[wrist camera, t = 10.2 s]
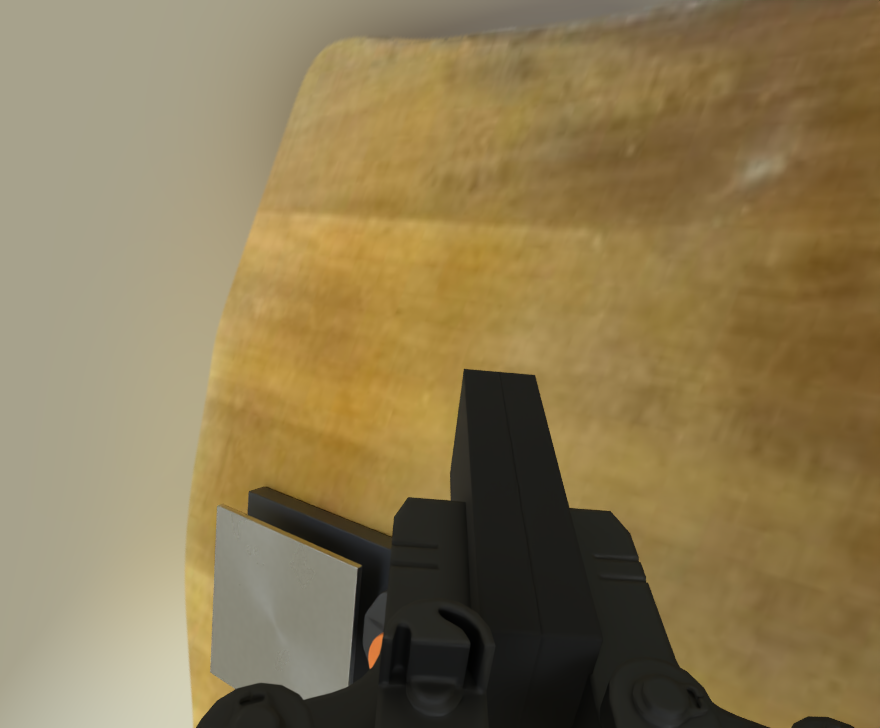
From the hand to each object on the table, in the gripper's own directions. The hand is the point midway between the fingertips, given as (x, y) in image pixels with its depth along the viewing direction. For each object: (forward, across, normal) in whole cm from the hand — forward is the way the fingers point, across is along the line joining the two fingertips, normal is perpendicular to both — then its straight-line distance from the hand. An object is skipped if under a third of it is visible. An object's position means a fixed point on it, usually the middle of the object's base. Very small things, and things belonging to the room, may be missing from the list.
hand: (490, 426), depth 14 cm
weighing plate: (+13, +8, +22) cm, 26 cm away
